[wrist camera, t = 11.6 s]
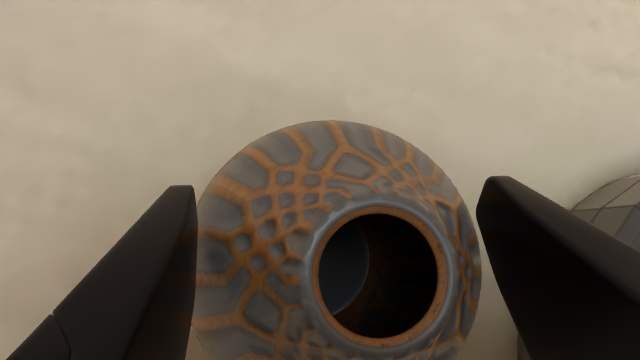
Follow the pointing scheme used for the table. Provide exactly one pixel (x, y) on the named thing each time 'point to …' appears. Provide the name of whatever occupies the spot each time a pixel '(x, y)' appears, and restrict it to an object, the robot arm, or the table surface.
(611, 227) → the pan
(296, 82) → the table surface
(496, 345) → the table surface
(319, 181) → the vase
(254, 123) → the table surface
